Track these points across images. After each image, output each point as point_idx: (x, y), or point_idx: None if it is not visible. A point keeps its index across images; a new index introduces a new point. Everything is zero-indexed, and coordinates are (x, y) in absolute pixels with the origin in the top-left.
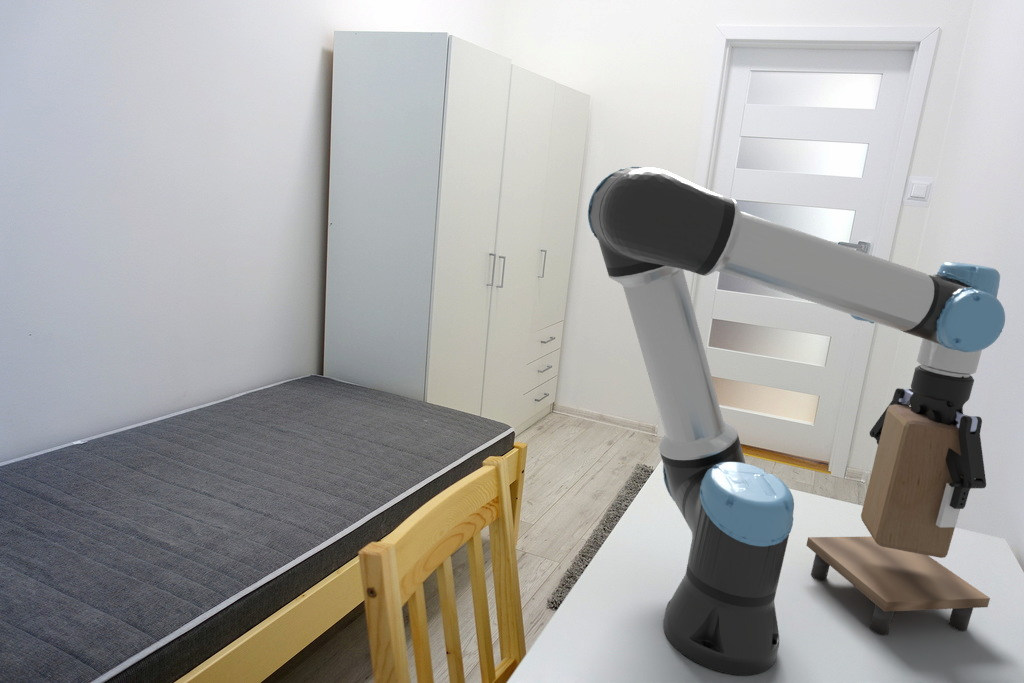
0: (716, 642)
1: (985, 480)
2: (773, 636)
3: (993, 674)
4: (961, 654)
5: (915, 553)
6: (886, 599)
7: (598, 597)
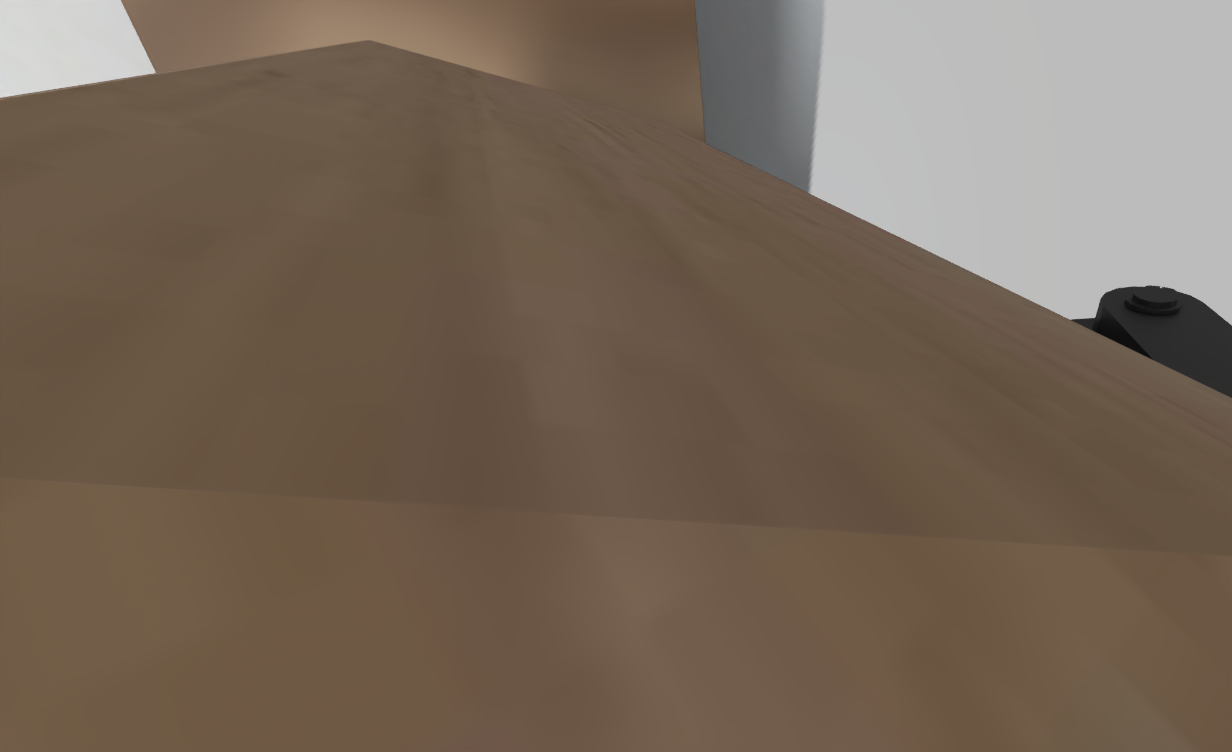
0: None
1: (1221, 321)
2: None
3: (822, 41)
4: (740, 83)
5: (323, 13)
6: None
7: None
